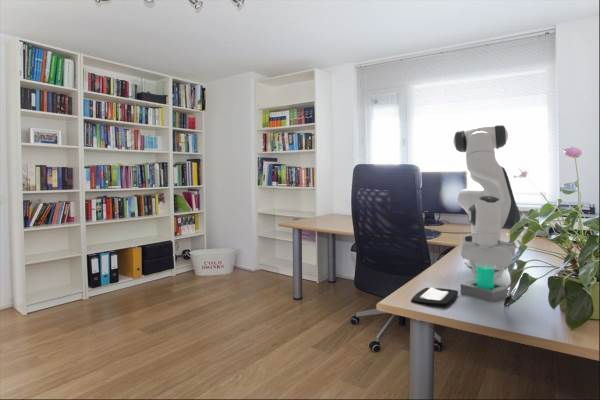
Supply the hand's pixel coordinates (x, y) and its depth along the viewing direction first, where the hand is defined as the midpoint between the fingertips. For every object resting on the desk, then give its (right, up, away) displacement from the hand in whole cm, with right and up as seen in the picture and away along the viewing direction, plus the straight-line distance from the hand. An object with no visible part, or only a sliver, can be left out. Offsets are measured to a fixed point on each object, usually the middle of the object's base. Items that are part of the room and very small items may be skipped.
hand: (486, 274), depth 146 cm
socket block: (0, -8, +1) cm, 8 cm away
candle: (0, -8, +1) cm, 8 cm away
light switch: (-21, -9, -4) cm, 23 cm away
